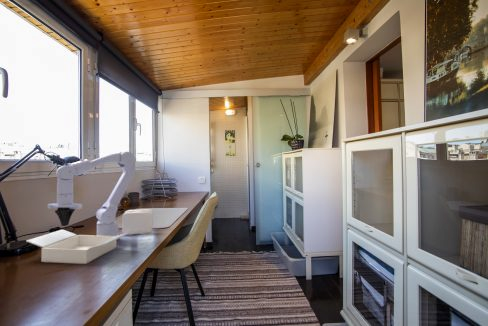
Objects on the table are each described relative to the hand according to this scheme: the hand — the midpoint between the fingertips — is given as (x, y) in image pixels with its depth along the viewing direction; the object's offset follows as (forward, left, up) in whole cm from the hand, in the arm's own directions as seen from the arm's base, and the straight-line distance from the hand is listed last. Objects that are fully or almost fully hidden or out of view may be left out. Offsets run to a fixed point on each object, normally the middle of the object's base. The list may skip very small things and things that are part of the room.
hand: (65, 225), depth 105 cm
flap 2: (+4, +24, -4) cm, 25 cm away
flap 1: (+4, -2, -4) cm, 6 cm away
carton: (+4, +11, -10) cm, 16 cm away
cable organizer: (-30, +16, -11) cm, 36 cm away
